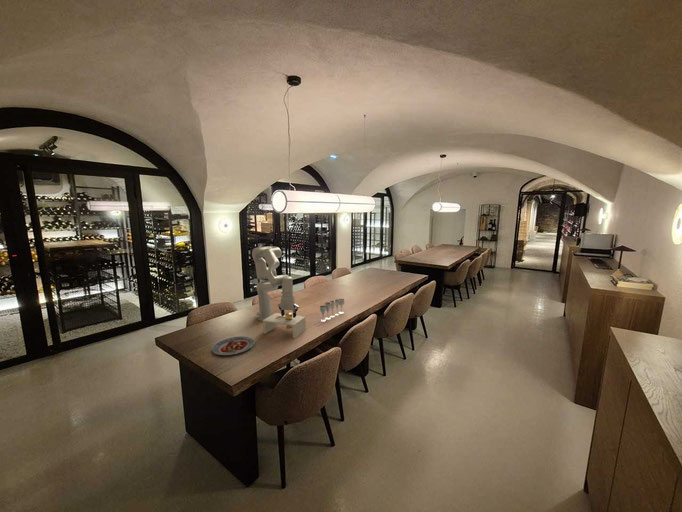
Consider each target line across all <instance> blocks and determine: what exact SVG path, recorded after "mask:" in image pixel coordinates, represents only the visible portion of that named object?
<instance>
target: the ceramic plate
mask: <svg viewBox="0 0 682 512" xmlns="http://www.w3.org/2000/svg"><path fill="white" fill-rule="evenodd" d="M254 344H255V340H254V339H253V338H252V337H249V336H243V335H242V336H239V335H238V336H232V337H228V338H225V339H221V340H220V341H218V342H216V343H215V344H214V345H213V346H212V348H211V350H212V352H213V353H214V354H216V355H221V356H233V355H238V354H240V353H243V352H246V351H248V350H250V349H252V347H253V346H254Z"/></svg>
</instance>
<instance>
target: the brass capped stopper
mask: <svg viewBox="0 0 682 512" xmlns="http://www.w3.org/2000/svg"><path fill="white" fill-rule="evenodd" d="M292 315H293V312H286V313H285V320H292ZM285 326H286V327H285V328H286V329H287V330H288V329H289V330H290V329H292V326H288V325H285Z"/></svg>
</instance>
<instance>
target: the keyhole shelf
mask: <svg viewBox="0 0 682 512" xmlns="http://www.w3.org/2000/svg"><path fill="white" fill-rule="evenodd" d="M279 318H280V319H279ZM279 325H283V326H286V325H288V326H292V328H291V329H292V339H296V338H297V337H298V336H300V335H302V333H303V332H305V331H306V330H307V328H306V326H307V325H306V316H301V315H296V317H295V318H293V314H292V320H286V319H285V315H284V316H281V312H280V313H278V312H275V313H273V314H271V316H269V317H268V318H266V319H264V320H263V321H262V327H263V329H262V330H263V334H265V335H266V334H267V333H269V332H270V331H272V330H274V329H275V328H276V327H278V326H279Z"/></svg>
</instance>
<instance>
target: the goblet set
mask: <svg viewBox="0 0 682 512" xmlns="http://www.w3.org/2000/svg"><path fill="white" fill-rule="evenodd" d="M344 305H345V298H338V299H337V298H336V299H334V300H330V301H329V302H328V301H326V302H324V305H320V306H319V311H320V313H321V316H324V314H325V312H326V313H327V315H329V311H330V310H331V311H332V313H331V315H330V316H327V317H325V318H322V319H320V322H326V320H331V318H335V317H336V316H339V315H341V314H344V313H345V312H344V311H342V309H343V306H344ZM339 306H340V310H341V311H339V312H338V313H335V314H334V308H336V309H338V307H339Z"/></svg>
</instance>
